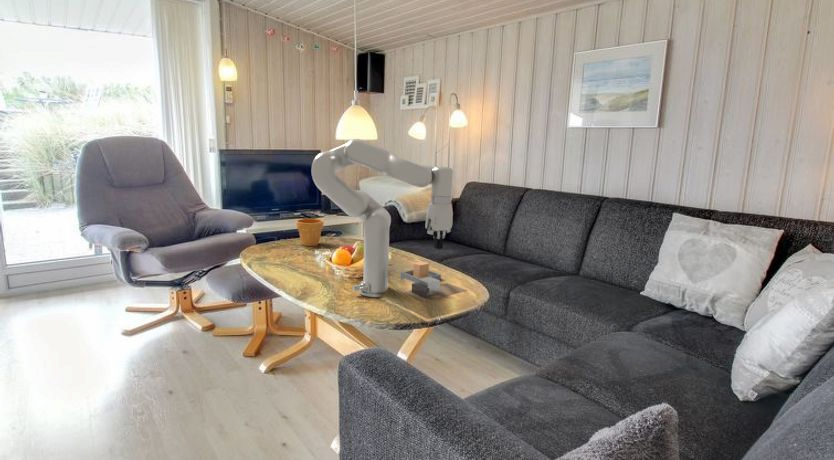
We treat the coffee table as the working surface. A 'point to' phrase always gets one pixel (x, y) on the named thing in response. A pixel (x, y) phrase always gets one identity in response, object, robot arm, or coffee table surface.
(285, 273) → the coffee table surface
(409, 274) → the tray
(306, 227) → the flower pot
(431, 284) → the grey cube block
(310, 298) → the coffee table surface
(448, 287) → the slide board
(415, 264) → the light orange block
